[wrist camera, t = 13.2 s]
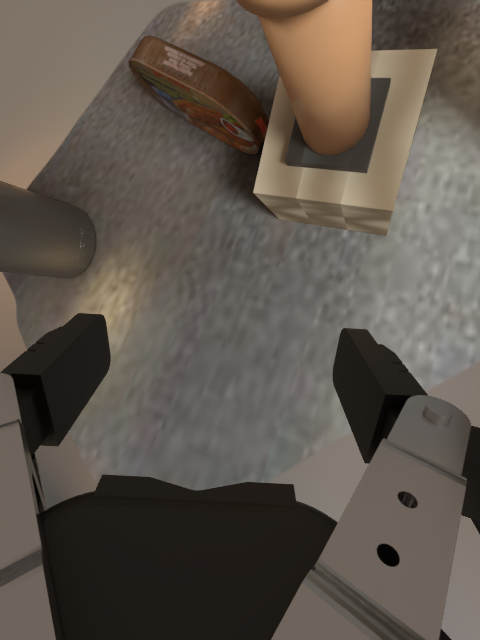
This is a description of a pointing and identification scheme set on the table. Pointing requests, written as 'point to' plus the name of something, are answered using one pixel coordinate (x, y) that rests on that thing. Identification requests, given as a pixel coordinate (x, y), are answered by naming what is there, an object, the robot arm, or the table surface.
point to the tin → (201, 93)
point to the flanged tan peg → (322, 65)
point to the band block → (347, 153)
